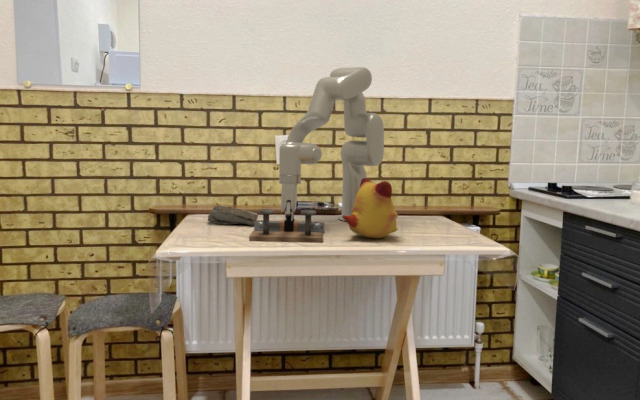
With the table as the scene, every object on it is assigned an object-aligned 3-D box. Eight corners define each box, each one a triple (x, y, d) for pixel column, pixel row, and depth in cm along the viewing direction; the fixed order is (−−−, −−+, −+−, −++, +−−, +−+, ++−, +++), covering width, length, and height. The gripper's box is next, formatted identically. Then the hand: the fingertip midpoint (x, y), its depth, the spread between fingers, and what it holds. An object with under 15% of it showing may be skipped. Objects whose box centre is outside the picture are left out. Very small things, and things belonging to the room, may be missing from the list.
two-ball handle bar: (324, 231, 206) (324, 221, 206) (324, 234, 201) (324, 223, 201) (255, 229, 207) (255, 219, 206) (253, 232, 202) (253, 222, 201)
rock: (247, 239, 210) (257, 214, 211) (201, 220, 211) (212, 195, 211) (251, 238, 221) (261, 214, 222) (207, 219, 222) (218, 195, 222)
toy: (409, 240, 193) (412, 181, 190) (359, 247, 182) (361, 184, 179) (373, 230, 210) (375, 175, 207) (325, 235, 198) (326, 178, 196)
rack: (322, 236, 196) (323, 209, 195) (322, 242, 187) (323, 213, 186) (252, 235, 197) (252, 207, 195) (249, 240, 188) (249, 212, 186)
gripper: (281, 176, 210) (280, 226, 212) (277, 181, 193) (276, 235, 196) (301, 177, 210) (300, 226, 212) (299, 182, 193) (298, 235, 195)
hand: (289, 230), depth 204 cm, fingers closed on two-ball handle bar, 4 cm apart
